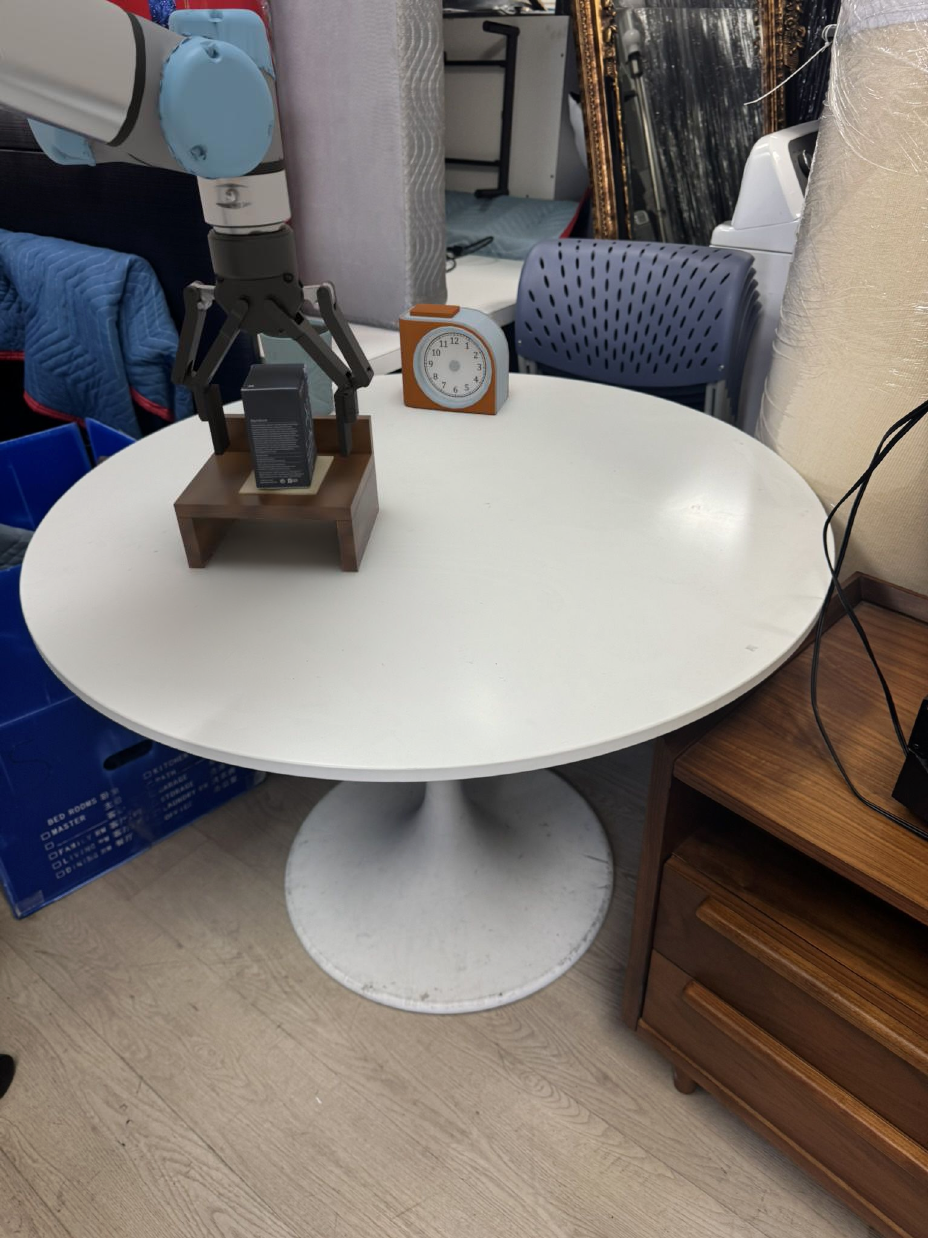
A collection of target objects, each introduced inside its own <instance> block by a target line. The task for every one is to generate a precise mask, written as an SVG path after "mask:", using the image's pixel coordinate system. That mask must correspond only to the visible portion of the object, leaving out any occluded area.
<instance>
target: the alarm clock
mask: <svg viewBox="0 0 928 1238" xmlns="http://www.w3.org/2000/svg"><path fill="white" fill-rule="evenodd" d="M398 333H399V345H400V346H399V349H400V362H401V363H400V364H401V380H402V396H403V397H402V398H403V404H404V405H405V406H407V407H410V408H416V409H417V408H418V409H428V410H429V409H430V410H440V411H449V412H451V411H452V412H461V413H462V412H463V413H472V414H473V413H474V414H483V415H493V416H494V415H497V414H498V412H499V411H500V409H502V407H503V405H505V402H506V401H507V400H508V398H509V390H510V389H509V388H510V387H509V386H510V385H509V381H510V380H509V379H510V376H509V375H510V351H509V343H508V341H507V337H506V335H505V332H504V330H503V329H502V327H501V326H500V325H499V323H498V322H497V321H496V320H495V319H494V318H493V317H491V316H490V315H489V314H487V313H486V312H484V311H482V310H479V309H476V308H471V307H466V306H465V307H464V306H463V307H462V306H460V305H454V304H453V305H452V304H439V303H438V304H435V303H417V304H416V305H413V306H410V307H408V309H406V310H404V312H402V313H401V314H400V315H399V316H398Z"/></svg>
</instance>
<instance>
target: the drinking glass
mask: <svg viewBox="0 0 928 1238" xmlns="http://www.w3.org/2000/svg"><path fill="white" fill-rule="evenodd" d="M308 320H309V322H310V324H311V326H312V328H313V329H314V330H315V331H316V332H317V333H318V334H319V336H320V337H321V338H322V339H323V340H324V341H325V342H326V343H327V345H328V346H329V347H330V348H331V349H332V350H333V337H332V335H331V333H330V331H329V330H328V328H327V326H326V324H325V322H324V320H317V319H308ZM258 335H259V339H260V343H261V344H260V345H261V346H262V352H263V357H264V362H265V364H290V363H305V364H306V369H307V377H308V386H309V395H310V403H311V411H312V415H330V413H331V412H333V409H334V390H333V381H332V380H331V379H330V378H329V377H328V376H327V375H326V373H325V372H324V371H323V370H322V369H321V368H320V367H319V366H318V365H317V363H316V362H315V361H314V360H313V359H312V358H311V357H310V356H309V355H308V353H307V352H306V351H305V350H304V349H303V348H302V347H301V346H300V345H299V344H298V342H296V341H294V340H292V339H291V338H290V337H289V336H288V334H287V333H286V332H283V333H281V334H280V335H269V334H265V333H260V334H258Z"/></svg>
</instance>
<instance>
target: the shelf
mask: <svg viewBox="0 0 928 1238" xmlns="http://www.w3.org/2000/svg"><path fill="white" fill-rule="evenodd" d="M224 415H225V420H226V425H227V430H228V435H229V441H230V446H229V447H228V448H227V450H226V451H225V452H224V454H223V455H215V452H213V453H212V454H211V455H210V457H209V458H208V459H207V461H205V463H204V464H203V466H202V467H201V468H200V469H199V470H198V472H197V473H196V474H195V476H193V478H192V479H191V481H190V482H189V483H188V484H187V486H186V487H185V488H184V490H183V491H182V492H181V493H180V495H179V496H178V497H177V498H176V500H175V501H174V502H173V509H174V513H175V517H176V521H177V526H178V529H179V532H180V537H181V541H182V545H183V549H184V553H185V557H186V561H187V566H188V568H189V569H193V568H195V569H203V568H205V567H206V565H207V563H208V562H209V560H210V558H211V557H212V555H213V554H214V552H215V550H216V549H217V547H219V544H220V543H221V541H222V539H223V538H224V536H225V535H226V533H227V532H228V530H229V528H230V527H231V525H232V524H233V523H234V521H235V519H252V520H255V519H257V520H258V519H259V520H299V521H300V520H301V521H302V520H305V521H306V520H308V521H310V520H311V521H336V530H337V538H338V545H339V546H338V547H339V553H340V561H341V563H340V564H341V570H342V572H347V573H348V572H349V573H351V572H353V573H358V571H359V568H360V566H361V562H362V560H363V557H364V554H365V551H366V548H367V546H368V542H369V540H370V536H371V533H372V530H373V527H374V524H375V522H376V519H377V515H378V513H379V510H380V503H379V493H378V482H377V470H376V461H375V459H376V458H375V450H374V447H375V446H374V438H373V437H374V436H373V425H372V416H371V415H370V414H359V415H358V418H357V420H356V422H355V423H350V425H351V435H352V445H353V447H352V449H351V451H350V453H349V456H348V457H340V448H339V439H338V430H337V421H336V414H327V415H312V419H313V427H314V435H315V443H316V452H317V459H316V462H315V467H314V471H313V476H312V481H311V485H310V487H309V488H288V489H257V487H256V481H255V475H254V469H253V463H252V457H251V450H250V445H249V439H248V433H247V427H246V421H245V414H244V413H224Z"/></svg>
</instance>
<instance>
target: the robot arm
mask: <svg viewBox="0 0 928 1238" xmlns="http://www.w3.org/2000/svg"><path fill="white" fill-rule="evenodd" d="M276 81H277V80H276V73H275V70H274V65H273V60H272V53H271V48H270V42H269V41H268V35H267V29H266V26H265V23H264V21H263V19H262V18H261V17H260V15H259V14H257V13H256V12H255V11H253V10H252V9H251V10H250V9H244V8H212V9H210V8H203V9H200V8H199V9H177V10H174V11H173V12H171V13H170V15H169V16H168V28H166V27H164V26H162V25H160V24H158V23H156V22H154V21H151V20H150V19H147V18H145V17H143V16H140V15H138V14H135V13H133V12H130V11H128V10H126V9H123V8H121V7H120V6H119V5H117V4H115V3H113V2H111V1H109V0H0V110H3V111H6V112H8V113H11V114H15V115H17V116H20V117H23V118H26V120H27V122H28V124H29V127H30V130H31V131H32V133H33V136H34V138H35V140H36V142H37V144H38V145H39V147H40V148H41V150H42V151H43V152H44V154H45V155H46V156H47V157H48V158H49V159H50V160H52V161H53V162H55V163H56V164H59V165H62V166H69V165H70V166H71V165H88V166H90V167H95V166H97V164H103V163H114V162H115V163H116V162H117V163H119V162H122V163H129V164H133V165H139V166H143V167H144V166H145V167H150V168H157V169H167V170H172V171H175V172H180V173H185V174H190V175H195V176H196V179H197V185H198V189H199V196H200V201H201V206H202V212H203V213H202V214H203V217H204V222H205V223H206V224H208V225H209V226H211V227H213V228H211V229H210V230H209V231H208V234H207V241H208V247H209V252H210V257H211V263H212V268H213V272H214V276H215V285H208V284H204V282H202V281H200V280H195V281H193V282H191V283H190V284H188V286H186V287H185V288H184V289H183V293H182V294H183V302H184V309H185V310H184V311H185V314H184V318H183V322H182V326H181V332H180V335H179V340H178V344H177V349H176V352H175V357H174V361H173V366H172V371H171V375H170V382H171V383H172V384H173V385H174V386H176V387H180V386H182V387H186V388H188V389H189V390H191V391H192V394H193V397H194V401H195V402H194V403H195V407H196V411H197V416H198V418H199V420H200V421H201V422H203V423H206V422H207V423H208V427H209V432H210V437H211V441H212V446H213V451H214V452H215V455H223V454H224V452H225V451H226V450H227V448H228V447H229V446H230V441H229V435H228V430H227V425H226V420H225V415H224V414H225V411H224V404H223V400H222V395H221V390H220V385H219V384H213V383H212V384H210V382H211V381H212V379H213V377H214V375H215V374H216V372H217V370H218V369H219V367H220V365H221V364H222V362H223V360H224V358H225V357H226V355H227V353H228V352H229V350H230V348H231V346H232V344H233V343H234V341H235V340H236V338H237V336H238V335H239V333H240V332H241V331H242V332H243V333H246V335H247V336H257V335H259V334H260V333H265V334H269V335H280V334H281V333H283V332H286V333H287V334H288V336H289V337H290V338H291V339H292V340H294V341H296V342H298V344H299V345H300V346H301V347H302V348H303V349H304V350H305V351H306V352H307V353H308V355H309V356H310V357H311V358H312V359H313V360H314V361H315V362H316V363H317V365H318V366H319V367H320V368H321V369H322V370H323V371H324V372H325V373H326V375H327V376H328V377H329V378H330V379H331V380H332V383H334V385H335V386H336V387H337V388H336V390H335V392H333V405H334V411H335V415H336V421H337V430H338V439H339V448H340V457H348V456H349V453H350V451H351V449H352V447H353V445H352V435H351V425H350V423H355V422H356V420H357V418H358V415H360V409H359V397H358V390H359V389H362V388H368V387H369V386H370V385H371V382H372V380H373V379H374V376H375V371H374V369H373V368H372V365H371V363H370V362H369V360H368V358H367V356H366V354H365V352H364V351H363V348H362V347H361V345H360V343H359V341H358V339H357V338H356V336H355V334H354V332H353V330H352V328H351V326H350V325H349V323H348V320H347V319H346V317H345V315H344V313H343V311H342V310H341V308H340V305H339V303H338V297H337V292H336V285H335V284H334V283H333V281H331V280H325V281H323V283H321V284H312V285H304V283H303V282H302V280H301V277H300V275H299V266H298V265H299V264H298V258H297V257H298V256H297V250H296V242H295V234H294V229H293V228H292V227H291V226H290V225H289V224H286V222H288V221H290V219H291V218H292V210H291V203H290V196H289V188H288V182H287V181H288V179H287V174H286V173H287V172H286V168H285V161H284V158H285V157H284V150H283V141H282V133H281V124H280V116H279V108H278V99H277V92H276V91H277V90H276ZM213 300H214V301H215V302H216V304H217V305H218V306H219V307H220V308H221V309H222V311H223V312H224V313H225V314H226V316H227V317H226V319H225V321H224V323H223V324H222V326H221V327H220V330H219V332H218V335H217V336H216V338H215V340H214V342H213V343H212V345H211V347H210V348H209V350H208V351H207V353H206V355H205V357H204V359H203V361H202V362H201V364H200V366H199V368H198V369H197V371H195V370H193V369H194V365H195V361H196V356H197V353H198V348H199V345H200V340H201V336H202V332H203V328H204V324H205V319H206V316H207V310H208V309H209V308H211V306H212V304H213ZM305 300H306V301H309V302H310V303H311V305H312V308H313V309H314V310H316V311H319V314H320V316H321V319H322V321H323V322H325V324H326V326H327V328H328V330H329V331H330V333H331V335H332V340H333V341H334V342H335V344H336V346H337V348H338V349H339V350H340V353H341V355H342V357H343V359H344V360H345V362H346V364H347V365H346V364H345V363H344V361H343V360H342V359H341V358H340V357H339V356H338V355H337V354H336V352H335V351H334V350H333V348H332V349H331V348H330V347H329V346H328V345H327V343H326V342H325V341H324V340H323V339H322V338H321V337H320V336H319V334H318V333H317V332H316V331H315V330H314V329H313V328H312V326H311V324H310V322H309V320H310V319H309V318H307V317H306V316H305V314H303V312H302V311H301V309H302V306H303V304H304V303H305ZM214 452H213V453H214Z"/></svg>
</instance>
